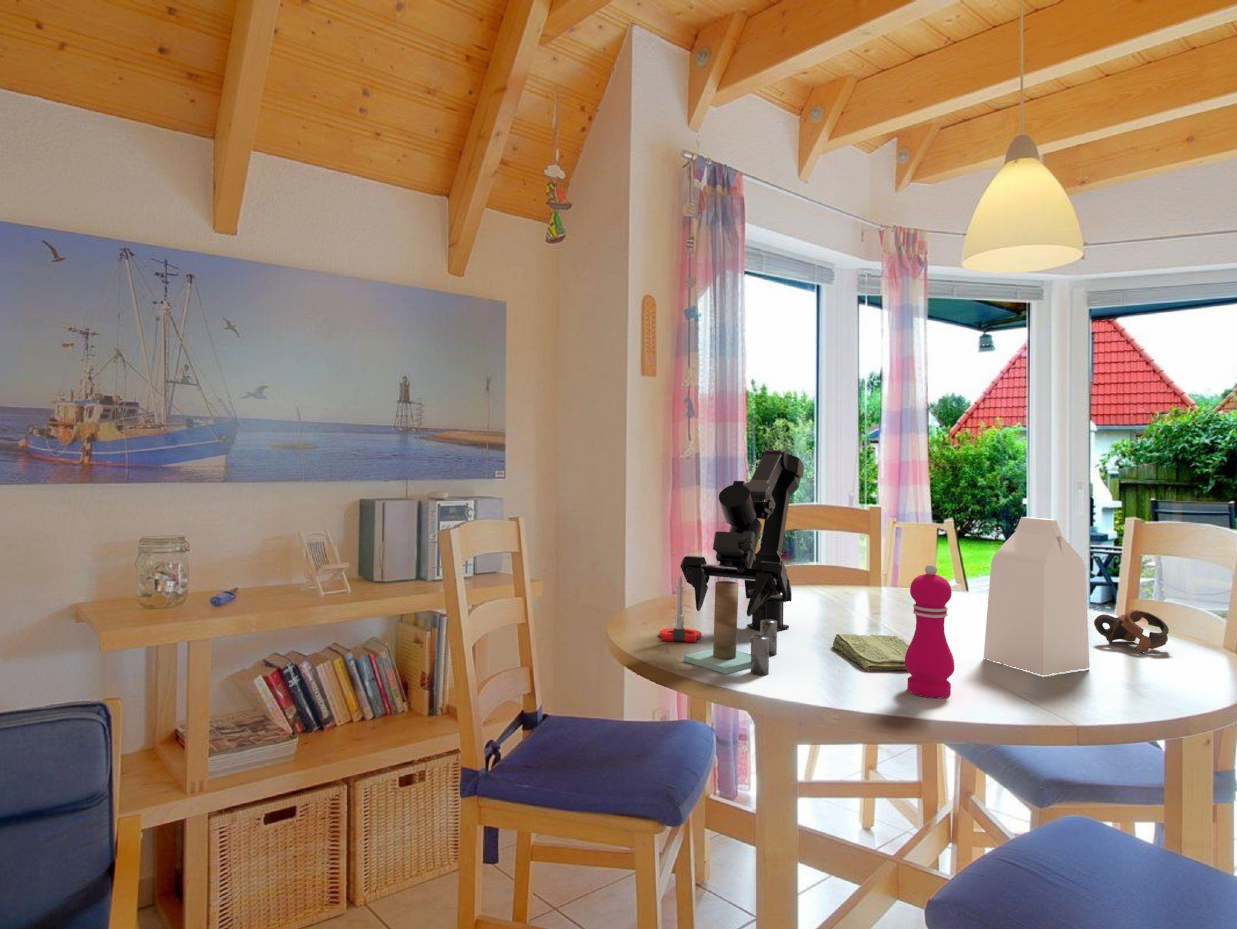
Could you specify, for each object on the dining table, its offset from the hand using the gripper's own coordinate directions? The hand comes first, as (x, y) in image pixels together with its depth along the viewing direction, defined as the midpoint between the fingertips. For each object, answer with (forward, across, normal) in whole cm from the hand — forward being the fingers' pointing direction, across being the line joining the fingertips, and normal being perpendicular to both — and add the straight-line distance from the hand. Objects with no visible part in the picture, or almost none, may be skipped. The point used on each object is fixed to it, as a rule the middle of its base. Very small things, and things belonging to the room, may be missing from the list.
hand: (722, 612), depth 133 cm
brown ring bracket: (-28, +67, +42) cm, 83 cm away
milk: (-12, +49, +25) cm, 57 cm away
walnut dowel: (+5, 0, +7) cm, 8 cm away
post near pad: (+8, +7, +5) cm, 12 cm away
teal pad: (+6, 0, +7) cm, 9 cm away
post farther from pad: (-1, +5, +14) cm, 15 cm away
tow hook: (-4, -14, +17) cm, 22 cm away
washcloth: (-6, +24, +20) cm, 32 cm away
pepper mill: (+6, +34, +7) cm, 35 cm away
